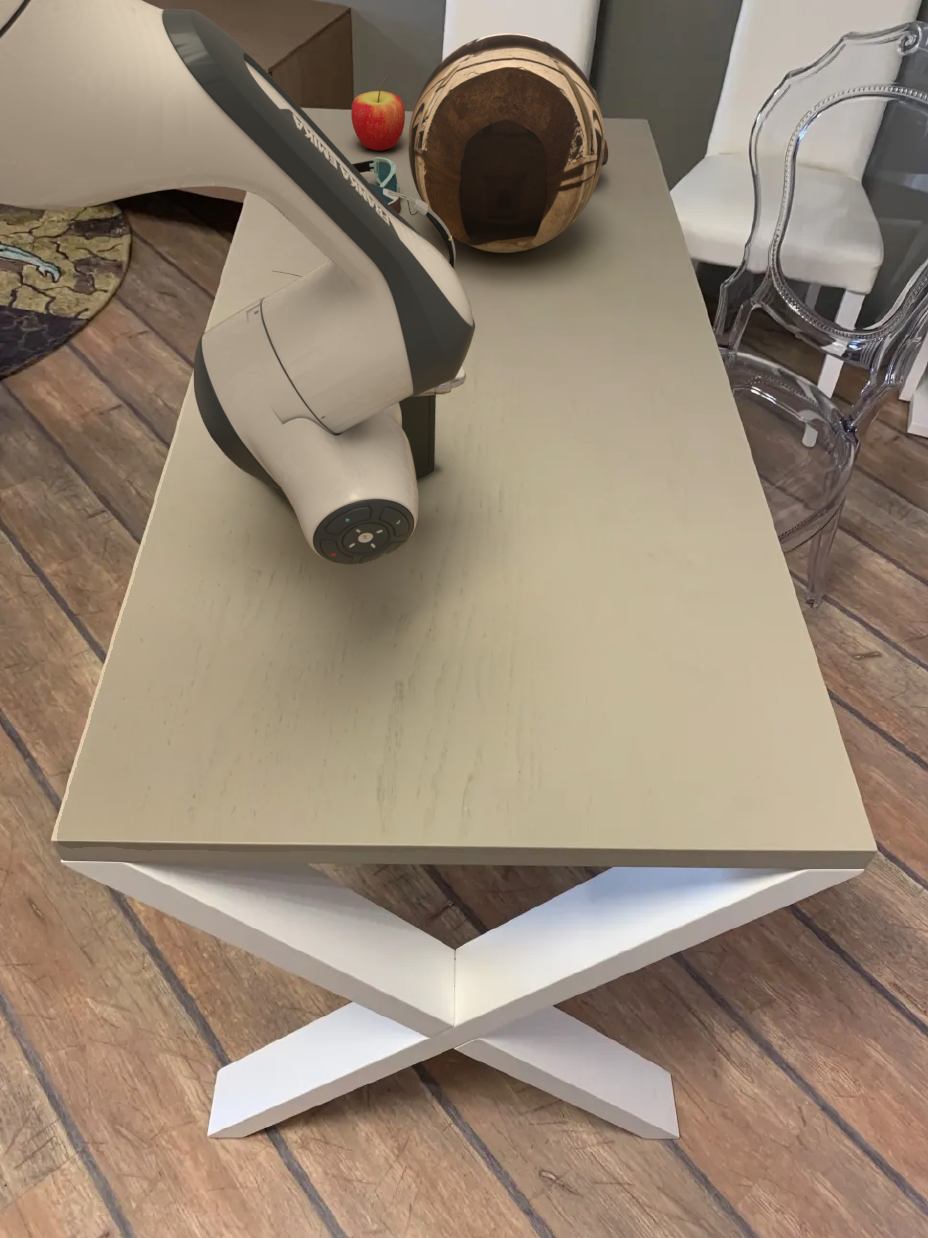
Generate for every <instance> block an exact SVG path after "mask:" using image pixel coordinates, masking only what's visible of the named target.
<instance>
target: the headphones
mask: <svg viewBox="0 0 928 1238" xmlns="http://www.w3.org/2000/svg"><path fill="white" fill-rule="evenodd" d="M368 183H369V184H370V185H371V186H372V187H373V188H374V189H375V190H376V191H377V193H378V194H379V195H380V196H381V197H382V198H383V199H384V200H385V201H386V202H387V203H388V204H389V205H390V206H391V207H392V208H393V209H394V210H395V211H396V212H397V213H398V214H399V215H400V213H401V211H402V203H401V199H403V200H406V201H407V206H408V211H409V214H410V215H411V216H415V215H417V214H418V213H420V214H421V215H422V216H423V217H426V218H427V219H428V220H429V221H430V222H431V224H432V225H433V227H434V228H435V229H436V230H437V232H438V233H439V234H440V236H441V239H442V241H444V244H445V246H446V249H447V252H448V257H449V258H448V262H449V264H450V265H451V266H452V268H453V269H454V270H455V266H456V246H455V242H454V238H453V236H452V235H451V234H450V232H449V230H448V229H447V227H446V226H445V224H444V223H443V222H442V220H441V219H440V218H439V217H438V216H437V215H436V214H435V213H434V212H433V211H432V210H430V209H429V208H428V204H427V203H425V202H423V201H422V200H421V198H416V199H414V198H413V197H410V196H409V195H405V194H403V193H400V192H399V193H396V192H393V191H391V190H388V189H386V188H383V187H380V185H377V184H375V183H371V182H368ZM410 203H412V204H414V205H413V207H414V209H416V210H417V211H416V212H415V213H412V211H411V208H410ZM273 272H275V273H278V270H277V271H275V270H273ZM279 273H281V274H287V275H290V273H289V272H283V271H279ZM291 275H292V276H296V277H299V275H298V274H294V273H291ZM302 276H303V275H300V277H302Z"/></svg>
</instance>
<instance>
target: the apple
mask: <svg viewBox="0 0 928 1238" xmlns="http://www.w3.org/2000/svg"><path fill="white" fill-rule="evenodd" d="M387 80H388V76H385V78H384V79H383V81H382V83H381V85H380V88H379V90H373V91H372V90H371V91H368V92H364V93H360V94H358V95H357V96H356V97H354V99H353V101H352V103H351V110H350V111H351V112H350V113H351V123H352V128H353V130H354V133H355V136H356V137H357V139H358V140H359V142H360V143H361V144H362V145H363V146H364V147H366V148H367V149H369V150H372V151H377V152H378V151H381V152H382V151H386V150H389V149H391V148H393V147H395V146H396V145H397V143H398V142H399V141H400V139H401V136H402V134H403V132H404V128H405V123H406V112H405V106H404V102H403V100H402V99H401V97H400V96H399V95H398V94H396V93H394V92H390V91H385V90H382V89H383V86H384V84H385V83H386V81H387Z"/></svg>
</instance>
